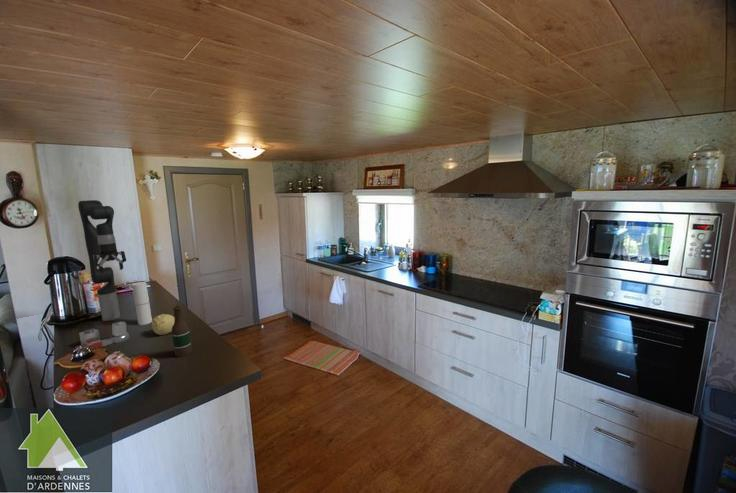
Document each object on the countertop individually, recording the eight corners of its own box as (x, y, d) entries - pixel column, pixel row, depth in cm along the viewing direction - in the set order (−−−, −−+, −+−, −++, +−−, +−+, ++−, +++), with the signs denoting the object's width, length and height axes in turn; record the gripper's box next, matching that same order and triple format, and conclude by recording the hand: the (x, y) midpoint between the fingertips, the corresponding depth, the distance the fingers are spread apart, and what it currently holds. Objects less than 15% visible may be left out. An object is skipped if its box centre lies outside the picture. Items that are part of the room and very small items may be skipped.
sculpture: (150, 333, 188) (147, 315, 186) (173, 326, 197) (171, 309, 195) (156, 339, 180) (153, 320, 178) (180, 331, 189) (178, 313, 187)
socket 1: (81, 345, 176) (78, 331, 175) (94, 340, 181) (92, 327, 180) (87, 347, 173) (85, 333, 172) (100, 342, 179) (98, 329, 177)
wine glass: (75, 350, 169) (72, 337, 168) (126, 335, 186) (124, 323, 185) (79, 355, 164) (76, 341, 163) (131, 339, 181) (129, 326, 180)
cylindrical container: (145, 325, 200) (138, 285, 196) (135, 324, 201) (128, 285, 197) (155, 320, 207) (149, 281, 202) (145, 320, 208) (139, 281, 204)
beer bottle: (180, 358, 158) (173, 310, 154) (171, 354, 162) (164, 308, 158) (195, 351, 164) (189, 305, 160) (186, 348, 169) (180, 303, 164)
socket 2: (112, 334, 180) (112, 322, 179) (123, 332, 183) (123, 320, 183) (115, 336, 176) (114, 324, 176) (126, 334, 180) (126, 322, 180)
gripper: (120, 240, 190) (125, 267, 193) (88, 244, 179) (94, 273, 182) (124, 241, 185) (129, 269, 188) (92, 245, 174) (97, 275, 177)
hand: (112, 271), depth 185 cm, fingers open, 8 cm apart
